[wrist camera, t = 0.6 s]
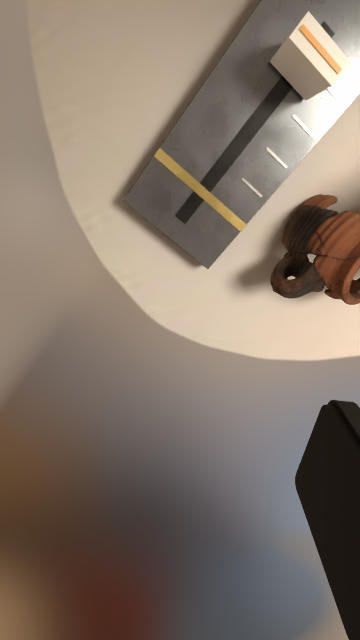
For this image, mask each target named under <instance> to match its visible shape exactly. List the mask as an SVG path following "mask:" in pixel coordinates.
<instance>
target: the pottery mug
mask: <svg viewBox="0 0 360 640" xmlns="http://www.w3.org/2000/svg"><path fill="white" fill-rule="evenodd" d="M336 202H337V197H335V196H329V195H321V194H320V195H317V196H314V197H312V198H311V199H309V200H308V201H306V202H305V203H304V204H303V205H302V206H300V207H299V208H298V210H297V211H296V212H295V213H294V214H293V215H292V217H291V218H290V220H289V221H288V223H287V225H286V227H285V230H284V233H283V237H282V243H283V244H284V245H285V247H286V249H287V251H288V252H287V253H285V255H284V258H283V259H282V260H281V261H280V262H279V263H278V264H277V265H276V266H275V268H274V270H273V272H272V275H271V285H272V287H273V291H274V292H276V293H278V294H280V295H281V296H283V297H286V298H298V297H301V296H303V295H305V294H307V293H310V292H312V291H314V292H320V291H322V290H323V289H324V286H326V287H327V288H329V289H327V290H325V292H324V293H325V294H326V295H328V296H329V297H332V298H334V299H342V300H343V301H344V302H345V303H346V304H350V305H354V304H358V303H360V278H359V279H358V280H353V277H354V275H355V273H356V272H357V270H358V268H359V267H360V215H359V214H358V213H357V212H353V211H345V212H342V213H340V214H338V212H336V211H333V210H327V209H325V208H327V207H328V206H330V205H332V204H334V203H336ZM307 254H314V255H317V256H316V257H315V259H314V261H313V263H311V262H309V259H308V257H307ZM289 276H294V277H295V279H292V280H288V279H287V278H288V277H289Z"/></svg>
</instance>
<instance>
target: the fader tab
mask: <svg viewBox="0 0 360 640" xmlns="http://www.w3.org/2000/svg"><path fill="white" fill-rule="evenodd" d="M270 63H271V64H272V65H273V66H274V67H275V68H276V69H277V70H278V71H279V72H280V73H281V75H282V76H283V77H284V78H285V79H286V80H287V81H288V82H289V83H290V84H291V85H292V86H293V88H294V89H295V90H296V91H297V92H298V93H299V94H300V95H301V96H302V97H303V98H304V99H305V101H306V100H308V99H310V98H311V97H313V96H315V95H317V94H319V93H320V92H322V91H324V90H326V89H328V88H329V87H331V86H332V85H333V84H334V83H335V82H336V81H337V79H338V78H339V77H340V76H341V74H342V73H343V72H344V71H345V70H346V68H347V67H348V66H349V65H350V64H351V61H350V60H349V59H348V58H347V56H346V55H345V54H344V53H343V52H342V50H341V49H340V48H339V47H338V46H337V44H336V43H335V42H334V41H333V40H332V38H331V37H330V36H329V35H328V34H327V32H326V31H325V30H324V29H323V28H322V27H321V25H320V24H319V23H318V22H317V21H316V19H315V18H314V17H313V16H312V15H311V13H310V12H309V11H308V12H307V14H306V15H305V16H304V17H303V19H302V20H301V21H300V22H299V24H298V25H297V26H296V27H295V29H294V30H293V31H292V32H291V34H290V35H289V36H288V37H287V39H286V40H285V41H284V43H283V44H282V45H281V47H280V48H279V49H278V51H277V52H276V53H275V55H274V56H273V57H272V59H271V60H270Z"/></svg>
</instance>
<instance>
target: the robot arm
mask: <svg viewBox="0 0 360 640" xmlns="http://www.w3.org/2000/svg"><path fill="white" fill-rule="evenodd" d="M295 485H296V490H297V493H298V495H299V498H300V501H301V504H302V507H303V510H304V513H305V515H306V518H307V521H308V524H309V527H310V530H311V533H312V536H313V539H314V541H315V544H316V547H317V550H318V553H319V556H320V558H321V561H322V565H323V567H324V570H325V573H326V576H327V579H328V582H329V585H330V588H331V590H332V593H333V596H334V599H335V602H336V605H337V608H338V610H339V613H340V616H341V619H342V622H343V625H344V628H345V631H346V633H347V636H348V638H349V640H360V408H359V407H358V405H357V404H355V403H354V402H346V401H337V400H332V401H330V402H329V403H328V404H327V405H323V406H322V408H321V410H320V412H319V415H318V418H317V421H316V423H315V425H314V428H313V431H312V433H311V436H310V439H309V441H308V444H307V447H306V449H305V452H304V454H303V457H302V460H301V463H300V465H299V468H298V470H297V473H296V477H295Z"/></svg>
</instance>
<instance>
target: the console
mask: <svg viewBox="0 0 360 640" xmlns="http://www.w3.org/2000/svg"><path fill="white" fill-rule="evenodd" d="M308 11H309V12H310V13H311V15H312V16H313V17H314V18H315V19H316V21H317V22H318V23H319V24H320V25H321V27H322V28H323V29H324V30H325V31H326V32H327V34H328V35H329V36H330V37H331V38H332V40H333V41H334V42H335V43H336V44H337V46H338V47H339V48H340V49H341V50H342V52H343V53H344V54H345V55H346V56H347V58H348V59H349V60H350V61H351V64H350V65H349V66H348V67H347V68H346V70H345V71H344V72H343V73H342V74H341V76H340V77H339V78H338V79H337V81H336V82H335V83H334V84H333V85H332V86H331V87H329V88H328V89H326V90H324V91H322V92H320V93H319V94H317V95H315V96H313V97H311V98H310V99H308V100H306V101H305V99H304V98H303V97H302V96H301V95H300V94H299V93H298V92H297V91H296V90H295V89H294V88H293V86H292V85H291V84H290V83H289V82H288V81H287V80H286V79H285V78H284V77H283V76H282V75H281V73H280V72H279V71H278V70H277V69H276V68H275V67H274V66H273V65H272V64H271V63H270V60H271V59H272V57H273V56H274V55H275V53H276V52H277V51H278V49H279V48H280V47H281V45H282V44H283V43H284V41H285V40H286V39H287V37H288V36H289V35H290V34H291V32H292V31H293V30H294V29H295V27H296V26H297V25H298V24H299V22H300V21H301V20H302V19H303V17H304V16H305V15H306V14H307V12H308ZM359 93H360V0H261V2H260V3H259V5H258V6H257V7H256V9H255V10H254V12H253V13H252V15H251V16H250V18H249V19H248V20H247V22H246V23H245V25H244V26H243V28H242V29H241V31H240V32H239V34H238V35H237V36H236V38H235V39H234V41H233V42H232V44H231V45H230V47H229V48H228V49H227V51H226V52H225V54H224V55H223V57H222V58H221V60H220V61H219V63H218V64H217V65H216V67H215V68H214V70H213V71H212V73H211V74H210V76H209V77H208V78H207V80H206V81H205V83H204V84H203V86H202V87H201V89H200V90H199V92H198V93H197V94H196V96H195V97H194V99H193V100H192V102H191V103H190V105H189V106H188V107H187V109H186V110H185V112H184V113H183V115H182V116H181V118H180V119H179V121H178V122H177V123H176V125H175V126H174V128H173V129H172V131H171V132H170V134H169V135H168V136H167V138H166V139H165V141H164V142H163V144H162V145H161V147H160V148H159V149H158V151H157V152H156V154H155V155H154V157H153V158H152V160H151V161H150V163H149V164H148V165H147V167H146V168H145V170H144V171H143V173H142V174H141V176H140V177H139V179H138V180H137V181H136V183H135V184H134V186H133V187H132V189H131V190H130V192H129V193H128V194H127V196H126V197H125V199H124V200H123V201H124V202H125V203H126V204H128V205H129V206H130V207H131V208H133V209H134V210H135V211H136V212H137V213H139V214H140V215H141V216H142V217H144V218H145V219H146V220H147V221H149V222H150V223H151V224H152V225H154V226H155V227H156V228H157V229H159V230H160V231H161V232H162V233H164V234H165V235H166V236H167V237H169V238H170V239H171V240H172V241H173V242H175V243H176V244H177V245H178V246H180V247H181V248H182V249H183V250H185V251H186V252H187V253H188V254H190V255H191V256H192V257H193V258H195V259H196V260H197V261H198V262H200V263H201V264H202V265H203V266H204V267H206V268H207V269H209V267H210V266H211V265H212V264H213V263H214V262H215V260H216V259H217V258H218V257H219V256H220V255H221V253H222V252H223V251H224V250H225V249H226V248H227V246H228V245H229V244H230V243H231V242H232V241H233V240H234V238H235V237H236V236H237V235H238V234H239V233H240V232H241V231H242V230H243V228H244V227H245V226H246V224H247V223H248V222H249V221H250V220H251V219H252V217H253V216H254V215H255V214H256V213H257V212H258V211H259V209H260V208H261V207H262V206H263V205H264V204H265V202H266V201H267V200H268V199H269V198H270V197H271V195H272V194H273V193H274V192H275V191H276V190H277V188H278V187H279V186H280V185H281V184H282V183H283V182H284V180H285V179H286V178H287V177H288V176H289V175H290V173H291V172H292V171H293V170H294V169H295V168H296V166H297V165H298V164H299V163H300V162H301V161H302V159H303V158H304V157H305V156H306V155H307V154H308V153H309V151H310V150H311V149H312V148H313V147H314V146H315V144H316V143H317V142H318V141H319V140H320V139H321V137H322V136H323V135H324V134H325V133H326V132H327V130H328V129H329V128H330V127H331V126H332V125H333V124H334V122H335V121H336V120H337V119H338V118H339V117H340V115H341V114H342V113H343V112H344V111H345V110H346V108H347V107H348V106H349V105H350V104H351V103H352V101H353V100H354V99H355V98H356V97H357V96H358V95H359Z"/></svg>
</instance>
